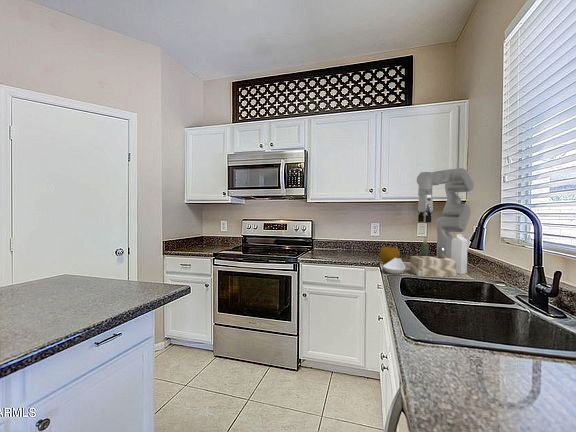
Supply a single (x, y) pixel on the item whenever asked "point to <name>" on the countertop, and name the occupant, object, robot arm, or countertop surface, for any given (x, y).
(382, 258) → the apple
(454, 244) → the milk
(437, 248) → the robot arm
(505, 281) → the countertop surface
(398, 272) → the spoon rest
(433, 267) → the beige woven basket
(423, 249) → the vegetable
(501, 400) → the countertop surface
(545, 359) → the countertop surface
